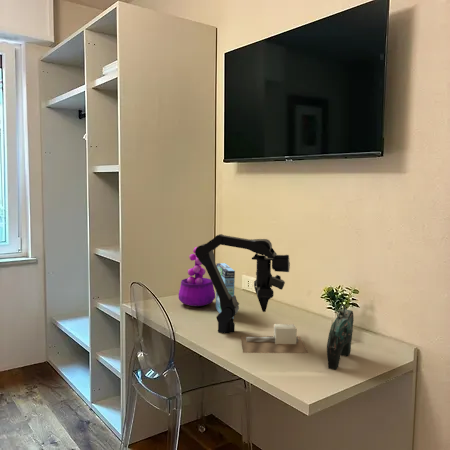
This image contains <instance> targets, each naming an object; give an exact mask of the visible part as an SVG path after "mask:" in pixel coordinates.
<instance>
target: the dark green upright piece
mask: <svg viewBox="0 0 450 450" xmlns="http://www.w3.org/2000/svg"><path fill="white" fill-rule="evenodd" d="M342 308H343V309H342ZM337 311H338V313H337V316H336V318H335V320H334V321H333V322H332V323H331V325H330V329H329V332H328V336H327V337H328V338H327V343H326V355H327V366H328V369H329V370H335V371H336V370H338V369H339V365H340V360H341V356H343V357H349V355H351V351H352V340H353V331H354V329H353V328H354V327H353V326H354V318H355V317H354V311H353V310H351V309H347V307H346V305H345V304H343V303H342V304H341V305H340V310H339V309H338V310H337Z"/></svg>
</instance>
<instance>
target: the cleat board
mask: <svg viewBox="0 0 450 450" xmlns="http://www.w3.org/2000/svg"><path fill="white" fill-rule="evenodd" d="M240 343H241V347H242V353H243V354H248V353H249V354H251V353H252V354H253V353H254V354H261V353H262V354H309V351H308V349H307V347H306V345H305V343H304V341H303V340H302V338H301V336H300V335H298V336H297V335H296V344H275V337H274V335H271V336H270V335H240Z"/></svg>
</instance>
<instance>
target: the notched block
mask: <svg viewBox="0 0 450 450" xmlns="http://www.w3.org/2000/svg"><path fill="white" fill-rule="evenodd" d="M297 329H298V328H297V326H296V325H295V324H294V323H273V336H274V337H275V344H296V336H297V331H298V330H297Z"/></svg>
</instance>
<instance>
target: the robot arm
mask: <svg viewBox="0 0 450 450" xmlns="http://www.w3.org/2000/svg"><path fill="white" fill-rule="evenodd" d="M220 246H227V247H231V248H232V247H233V248H238V249H244V250H248V251H251V252H253V253H255V254H254V255H253V257H251V260H255V261H256V271H255V275H256V277H255V280H254V282H253V287H254V291H255V294H256V297H257V299H258V302H259V303H258V304H259V305H260V308H261V310H262V311H261V312H263V313H265V312H266V311H267V307H268V303H269V300H271V299H273V297H274V290H273V287H275V288H277V289H279V290H283V288H284V286H285V284H286V281H285V280H283V279H282V278H281V275H279V274H276V275H275V276H273V274H272V272H271V271H272V270H273V271H274V272H280V273H281V272H282V273H290V269H291V266H290V265H291V263H290V255H289V254H277V252H276V251H275V249H274V248H273V244H272V242H271V240H270V239H268V238H256V239H255V238H254V239H252V238H251V239H249V238H244V237H243V238H241V237H239V236H238V237H236V236H233V235H231V236H230V235H225V234H222V233H221V234H218V235H217V234H216V235H215V237H214V238H212V239H211V240H209V241H208V242H206V243H203V244H201V245H198V246H196V247H197V248H196V251H195V253H194V254H195V255H196V256H197V258H198V259H199V261H200V262H201V263H202V266H204V267H205V268H204V269H205V271H207V274H208V277H209V279H211V281H212V283H213V287H214V291H215V293H216V292H217V294H218V296H219V299H220V307H221V312H220V313H218V314H217V316H216V321H217V332H218V333H220V334H231V333H235V331H236V329H235V324H236V323H235V322H234V319H233V318H232V317H234V318H235V315H236V314H237V313H238V312H239V309H240V306H239V305H240V303H239V301H238V300H237V297H236V295H234V296H233V297H232V296H231V295H230V294H229V292H228V290H227V288H226V286H225V283H224V281H223V279H222V277H221V275H220V272H219V270H218V268H217V266H216V265H217V263H216V259H215V253H214V250H216V249H217V248H218V247H220ZM271 269H272V270H271Z"/></svg>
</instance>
